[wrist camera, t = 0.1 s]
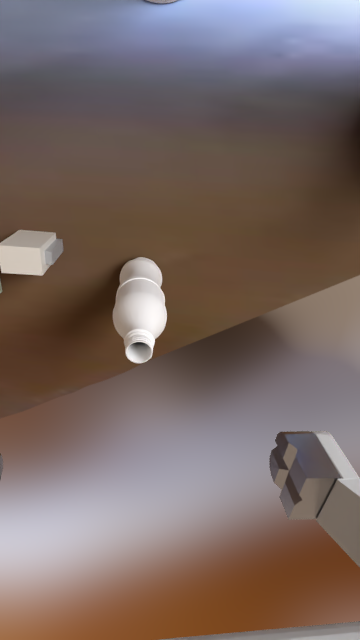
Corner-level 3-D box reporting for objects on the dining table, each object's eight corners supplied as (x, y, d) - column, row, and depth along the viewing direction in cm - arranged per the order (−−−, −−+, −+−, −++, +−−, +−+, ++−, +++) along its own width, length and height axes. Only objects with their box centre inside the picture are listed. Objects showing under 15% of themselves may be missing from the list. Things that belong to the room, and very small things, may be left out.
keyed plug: (3, 228, 51) (-23, 243, 43) (61, 233, 52) (47, 248, 45) (7, 253, 53) (-17, 271, 45) (63, 256, 54) (49, 275, 46)
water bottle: (116, 285, 58) (99, 371, 36) (126, 248, 55) (114, 316, 33) (154, 295, 59) (160, 383, 38) (166, 260, 56) (180, 332, 34)
